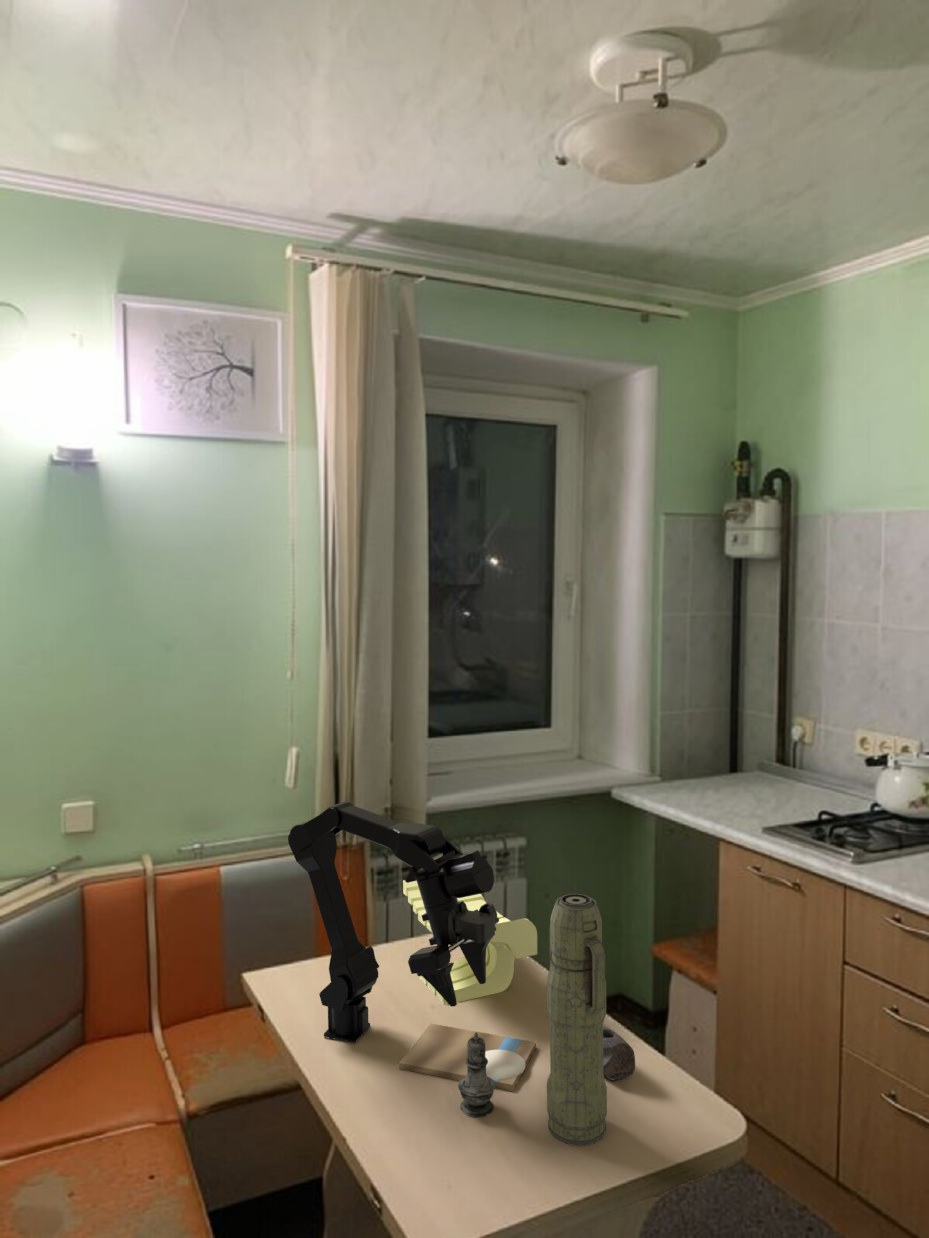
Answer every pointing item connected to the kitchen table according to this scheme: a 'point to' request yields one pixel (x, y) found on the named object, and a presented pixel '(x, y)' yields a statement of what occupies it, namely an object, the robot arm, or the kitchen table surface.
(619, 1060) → the perforated stone tool
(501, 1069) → the board
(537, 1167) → the kitchen table surface
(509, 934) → the slatted curved stool
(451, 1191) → the kitchen table surface
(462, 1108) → the dark grey chess piece
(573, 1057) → the thermos
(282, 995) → the kitchen table surface
